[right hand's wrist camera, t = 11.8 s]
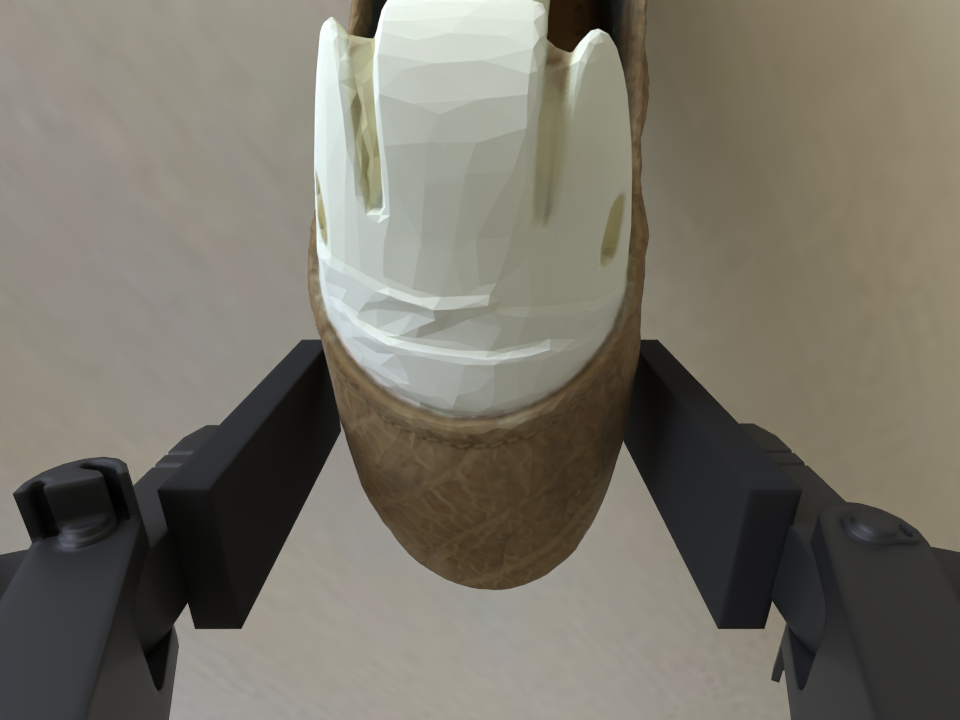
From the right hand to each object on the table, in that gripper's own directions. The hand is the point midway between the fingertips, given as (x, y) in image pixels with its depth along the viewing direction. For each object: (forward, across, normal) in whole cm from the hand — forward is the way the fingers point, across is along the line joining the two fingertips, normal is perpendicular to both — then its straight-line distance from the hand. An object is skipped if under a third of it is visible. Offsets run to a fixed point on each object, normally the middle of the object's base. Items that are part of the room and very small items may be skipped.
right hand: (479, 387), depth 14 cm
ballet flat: (+4, -1, -6) cm, 7 cm away
